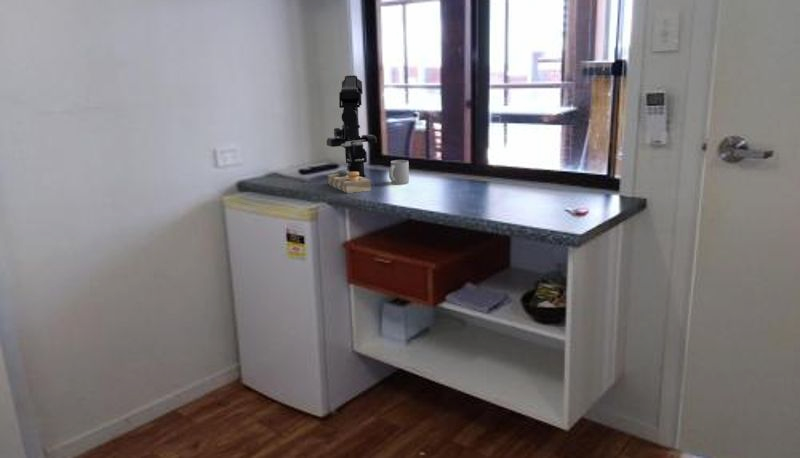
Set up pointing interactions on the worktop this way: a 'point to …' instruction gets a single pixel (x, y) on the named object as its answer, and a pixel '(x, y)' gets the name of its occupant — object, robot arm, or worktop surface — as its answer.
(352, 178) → the mushroom knob terracotta
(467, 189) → the worktop surface
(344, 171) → the grey mushroom knob
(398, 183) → the cup
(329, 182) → the housing
